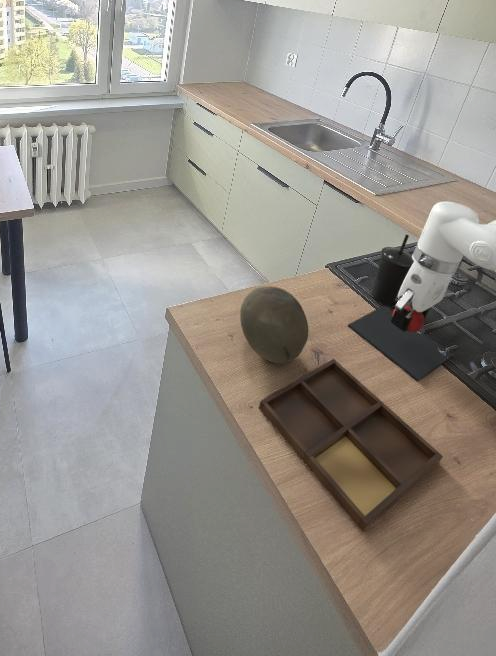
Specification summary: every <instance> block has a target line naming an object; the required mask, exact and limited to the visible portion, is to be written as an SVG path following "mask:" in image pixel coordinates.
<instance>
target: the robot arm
mask: <svg viewBox="0 0 496 656" xmlns="http://www.w3.org/2000/svg"><path fill="white" fill-rule="evenodd" d="M411 255H412V258H413V260H414V263H413V264H412V266H411V268H410V269H409V272H408V273H407V275H406V277H405V279H404V281H403V283H402V285H401V288H400V290H399V293H398V295H397V299H398V301H397V303H395V305H394V309H395V308H396V309H395V313H394V315H393V317H392V320H391V323H392V324H394V325H395V326H396V327H398V328H399V329H401V330H402V331H403V332H406V331H407V329H408V327H409V325H410V323H411V320H412V318H411V316H412V314H413V313H414V311H415V310H416V311H417V312H422V314H423V316H424V320H425V319H426V317H427V315H428V313H429V311H430V308H432V307H433V306H435V305H437V304H438V303H440V302H441V301H442V300H443V299H444V297H445V294H446V292H447V290H448V287H449V285H450V282H451V279H452V277H453V276H454V275H455V274H456V272H457V270H458V268H459V266H460V264H461V261H462V259H463V258H464V257H465V258H466V259H467V260H468V261H470V262H472V263H473V264H475V265H476V266H478V267H480V268H482V269H485V270H488V271H493V272H496V219H494V220H493V221H490V222H489V223H486V224H483V223H480V217H479V215H478V213H476V212H475V210H474V209H472V208H470V207H468V206H466V205H464V204H461V203H457V202H454V201H446V200H445V201H439V202H436V203H435V204H434V205H433V206H432V208H431V210H430V212H429V214H428V217H427V219H426V222H425V224H424V227H423V229H422V231H421V234H420V236H419V239H418V241H417V243H416V246H415V248H414V250H413V252H412V254H411ZM406 305H408V306H409V307H411V309H410V310H409V312H408V311H407V310H406V309H405V307H406Z"/></svg>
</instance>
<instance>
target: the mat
mask: <svg viewBox="0 0 496 656" xmlns="http://www.w3.org/2000/svg"><path fill="white" fill-rule="evenodd" d="M392 317H393V311H392V310H391V309H390V308H388V307H387V306H385V305H381V307H379V308H377V309H375V310H372V311H371V312H369V313H367V314H365V315H363V316H361V317H360V318H358V319H355V321H352V322H350V323H349V324H348V325H347V327H348V328H350V329H351V330H352V331H353V332H355V333H356V334H358V336H360V338H362V339H364V340H365V341H366V342H367V343H369V344H370V345H371V346H372V347H374V349H376V350H377V351H379V352H380V353H381V354H382V355H383V356H385V358H388V360H390V361H391V362H393V364H395V365H396V366H398V368H400V369H401V370H402V371H404V372H405V373H406V374H407V375H409V377H411V378H412V379H414V380H415V381H417V382H420V381H421V380H422V379H424V378H425V377H426V376H427V375H429V374H430V373H432V372H433V371H435V370H436V369H438V368H440V367H441V366H442V365H444V364H445V363H446V362H447V361H449V360H450V359H452V358H453V357H454V353H452V352H450V351H449V350H448V351H447V352H446V356H442V355H441V354H440V353H439V351H438V348H439V349H440V350H441V351H446V350H447V348H445V347H443V346H442V345H441V344H439V343H438V342H437V341H435V340H433V338H431V337H429V336H428V335H426V334H425V333H424V334H419V333H416V332H403V331H402V330H401V329H399V328H398V327H396V326H395V325H394V324H392V323H391V320H392ZM437 347H438V348H437ZM447 357H448V358H447ZM449 358H450V359H449ZM447 359H448V360H447ZM445 361H446V362H445Z"/></svg>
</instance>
